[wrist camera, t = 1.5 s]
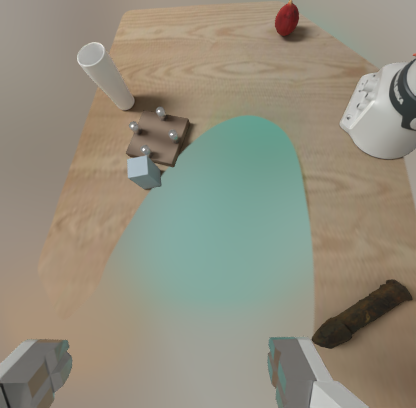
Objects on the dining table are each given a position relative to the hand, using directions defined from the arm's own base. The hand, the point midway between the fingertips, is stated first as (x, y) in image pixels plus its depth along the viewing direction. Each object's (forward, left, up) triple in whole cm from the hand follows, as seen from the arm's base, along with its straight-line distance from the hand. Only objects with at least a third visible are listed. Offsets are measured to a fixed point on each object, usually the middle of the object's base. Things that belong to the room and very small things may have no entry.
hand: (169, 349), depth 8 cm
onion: (-66, -1, -37) cm, 75 cm away
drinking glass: (-36, -39, -37) cm, 65 cm away
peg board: (-27, -25, -37) cm, 52 cm away
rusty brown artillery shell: (0, +26, -37) cm, 46 cm away
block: (-16, -23, -37) cm, 47 cm away
